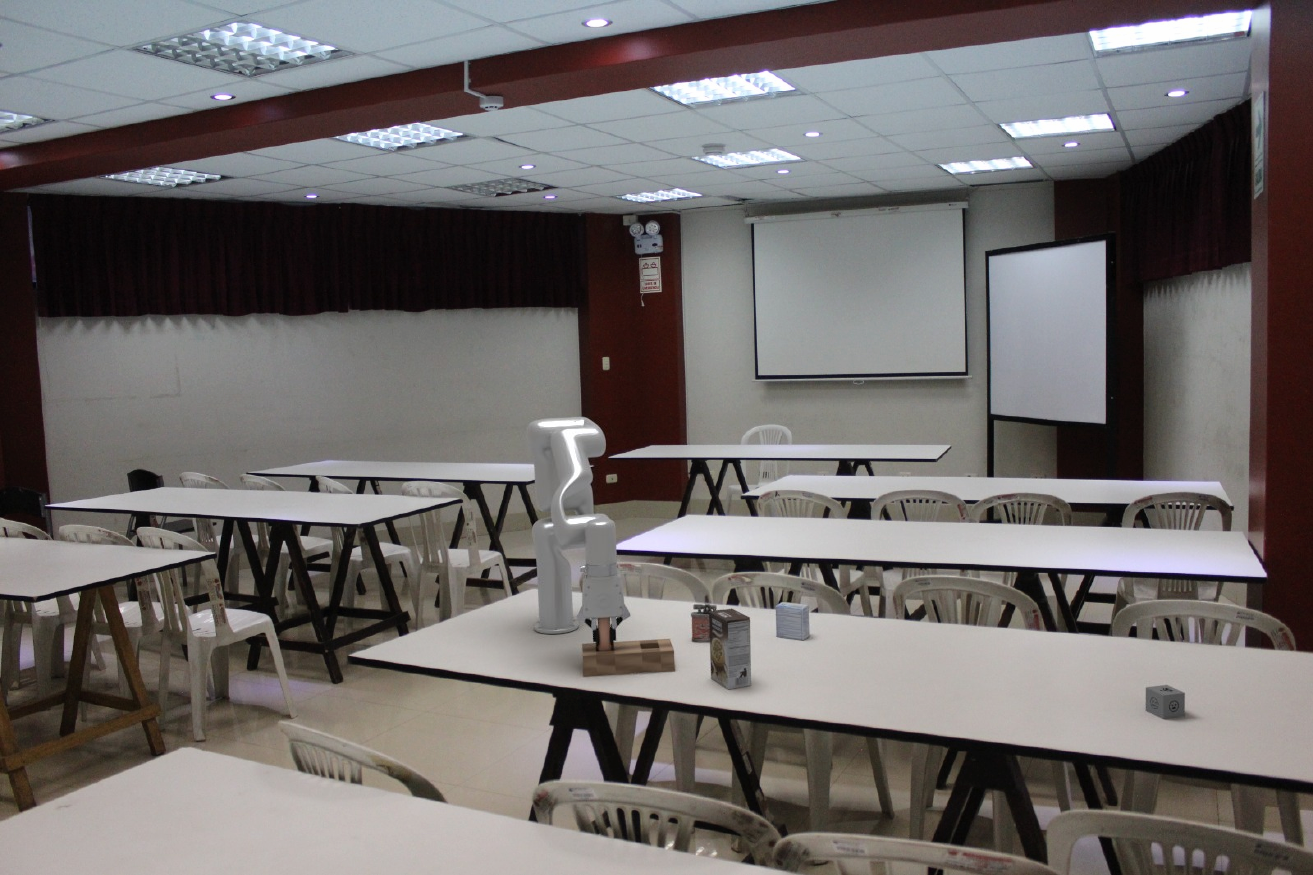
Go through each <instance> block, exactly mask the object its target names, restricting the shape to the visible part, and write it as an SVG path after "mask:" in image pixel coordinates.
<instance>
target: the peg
mask: <svg viewBox="0 0 1313 875" xmlns="http://www.w3.org/2000/svg"><path fill="white" fill-rule="evenodd" d="M610 627H611V618H597V628H598V632H599V652H602V651H611V639H610Z"/></svg>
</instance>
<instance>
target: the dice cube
mask: <svg viewBox="0 0 1313 875" xmlns="http://www.w3.org/2000/svg"><path fill="white" fill-rule="evenodd" d="M1185 700H1186V693H1185V692H1184V691H1182V690H1179V689H1177V688H1175V687H1173V686H1171V685H1168V684H1163V685H1154V686H1146V687H1145V712H1147V713H1149V714H1151V715H1154V716H1155V717H1158V718H1159V719H1161V720H1170V719H1177V718H1183V717H1186V716H1185V714H1186V713H1185V712H1186V711H1185V710H1186V708H1185V707H1186V701H1185Z"/></svg>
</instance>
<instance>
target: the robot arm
mask: <svg viewBox="0 0 1313 875" xmlns="http://www.w3.org/2000/svg"><path fill="white" fill-rule="evenodd" d="M525 434H526V436H525V437H526V443H527V447H528V451H529V453H530V456H531V457H532V461H533V469H534V488H535V489H534V490H535V492H534V493H535V501H536V506H537V508H538V510H540V512H542V513H550V516H549V517H544V518H540V519H538V520H537V521H535V523H534V524H533V525H532V527H531V528H532V529H531V537H532V540H533V541H532V542H533V547H534V551H535V559H536V560H535V561H536V573H537V576H536V577H537V580H536V581H537V597H538V598H537V600H538V601H537V602H538V618H539V619H538V622H536V623H534V625H533V630H534V631H535V632H536V633H540V634H547V635H553V634H555V635H556V634H557V635H558V634H566V633H570V632H573V631H575V630H577V629H578V628H579V627H580V623H579V621H580V622H581V623H585V624H586V625H587V626H588V627H589V628H590V629H591V630H592V642H593V643H596V646H599V632H598V618H610V639H611V645H614V642H617V628H618V626H620V624H621V623H622V622H623V621H625V620H627V619H628V618H630V617H631V612H630V611H629V609H628V606H626V604H625V596H624V586H623V585H624V584H623V580H622V576H621V574H620V573H619V572H618V558H617V554H618V553H617V532H616V531H617V530H616V529H617V528H616V523H615V521H614V520H613V519H610V518H609V516H608V515H607V514H605V513H595V512H594V511H595V510H594V495H593V494H594V493H593V488H592V486H591V483H592V482H593V478H594V474H593V472H592V468H591V465H590V462H589V458H598V457H601V456H603V455H604V454H605V452H606V446H607V444H606V437H605V434H604V432H603V430H602V429H601V427H600V426H599V425H598V423H597V424H596V423H595V422H594V421H592V420H591V419H589V418H588V417H585V416H571V417H552V418H542V419H536V420H533V421H531V422H530V423H529V424H528V426H527V428H526V433H525ZM570 511H574V513H575V514H570V515H569V514H568V515H566V512H570ZM584 548H585V564H584V565H583V566H580V569H579V571H580V572H581V573H582V572H583V573H585V575H584V576H583V579H582V590H581V592H582V594H581V607H580V609H579V610H578V613H577V615H576V619H574V610H573V609H574V608H573V606H574V605H573V604H574V603H573V585H572V583H573V581H572V566H571V563H570V561H569V560H568V558H566V556H564V555H563V553H562V552H563V551H568V550H573V549H574V550H575V549H577V550H578V549H584Z"/></svg>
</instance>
